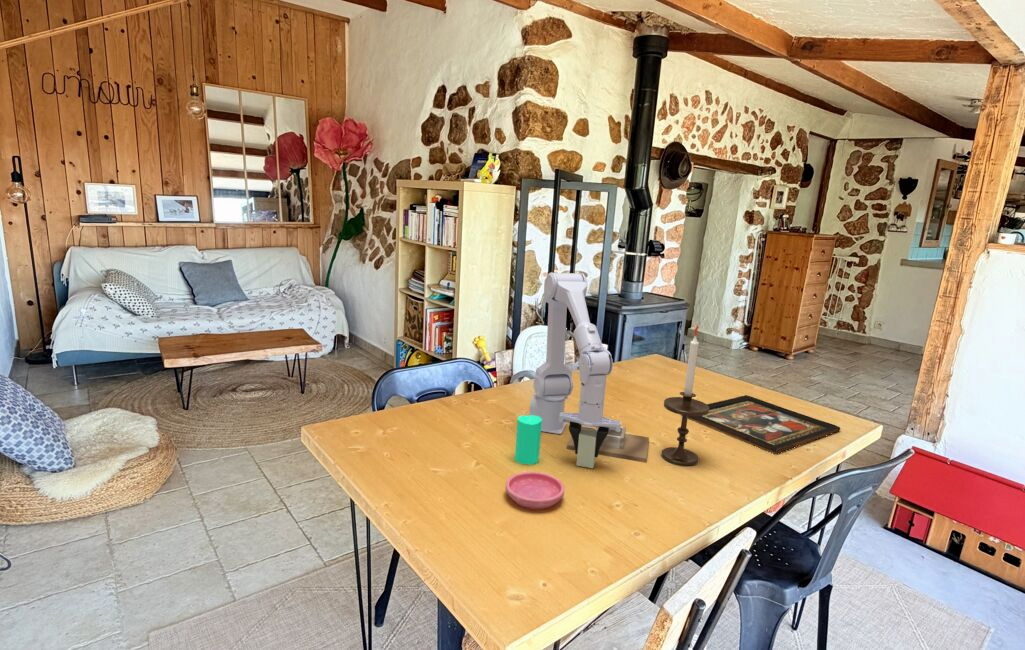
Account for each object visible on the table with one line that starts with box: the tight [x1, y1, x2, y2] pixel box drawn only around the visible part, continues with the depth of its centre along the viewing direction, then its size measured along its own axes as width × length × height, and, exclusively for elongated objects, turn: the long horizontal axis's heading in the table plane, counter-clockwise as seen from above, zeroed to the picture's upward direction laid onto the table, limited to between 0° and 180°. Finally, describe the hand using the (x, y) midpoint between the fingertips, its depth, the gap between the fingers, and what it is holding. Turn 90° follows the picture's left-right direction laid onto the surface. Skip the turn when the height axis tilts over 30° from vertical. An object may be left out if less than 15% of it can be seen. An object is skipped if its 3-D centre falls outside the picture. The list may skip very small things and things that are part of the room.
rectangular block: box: [575, 428, 597, 469], centre depth 134 cm, size 4×4×8 cm
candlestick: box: [660, 323, 709, 467], centre depth 138 cm, size 11×11×35 cm
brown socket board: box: [566, 426, 650, 463], centre depth 147 cm, size 20×14×4 cm
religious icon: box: [687, 394, 841, 455], centre depth 169 cm, size 38×35×3 cm
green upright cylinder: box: [514, 414, 542, 466], centre depth 135 cm, size 6×6×12 cm
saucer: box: [505, 471, 565, 510], centre depth 118 cm, size 12×12×3 cm
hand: (586, 454), depth 135 cm, fingers closed on rectangular block, 4 cm apart
